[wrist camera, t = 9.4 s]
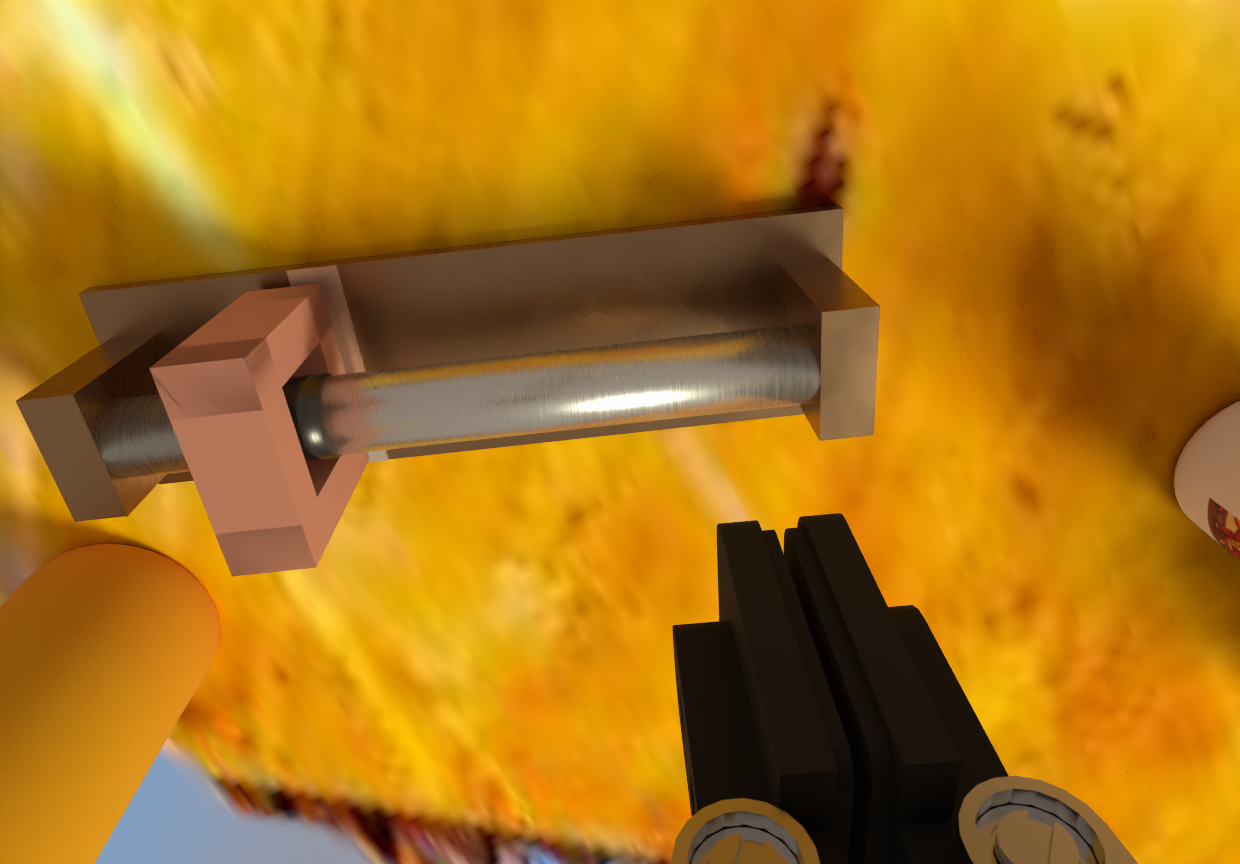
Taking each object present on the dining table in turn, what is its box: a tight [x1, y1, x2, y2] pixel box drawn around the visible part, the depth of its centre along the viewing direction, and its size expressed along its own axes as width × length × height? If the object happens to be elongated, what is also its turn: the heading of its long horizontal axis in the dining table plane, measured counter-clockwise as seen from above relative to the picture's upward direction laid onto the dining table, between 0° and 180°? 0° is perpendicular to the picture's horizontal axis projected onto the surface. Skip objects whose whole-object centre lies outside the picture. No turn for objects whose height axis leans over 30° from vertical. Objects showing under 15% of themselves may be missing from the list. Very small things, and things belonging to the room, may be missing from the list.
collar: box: [149, 284, 370, 576], centre depth 30 cm, size 8×3×8 cm, turn 5°
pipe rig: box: [16, 205, 880, 522], centre depth 32 cm, size 9×31×7 cm, turn 95°
